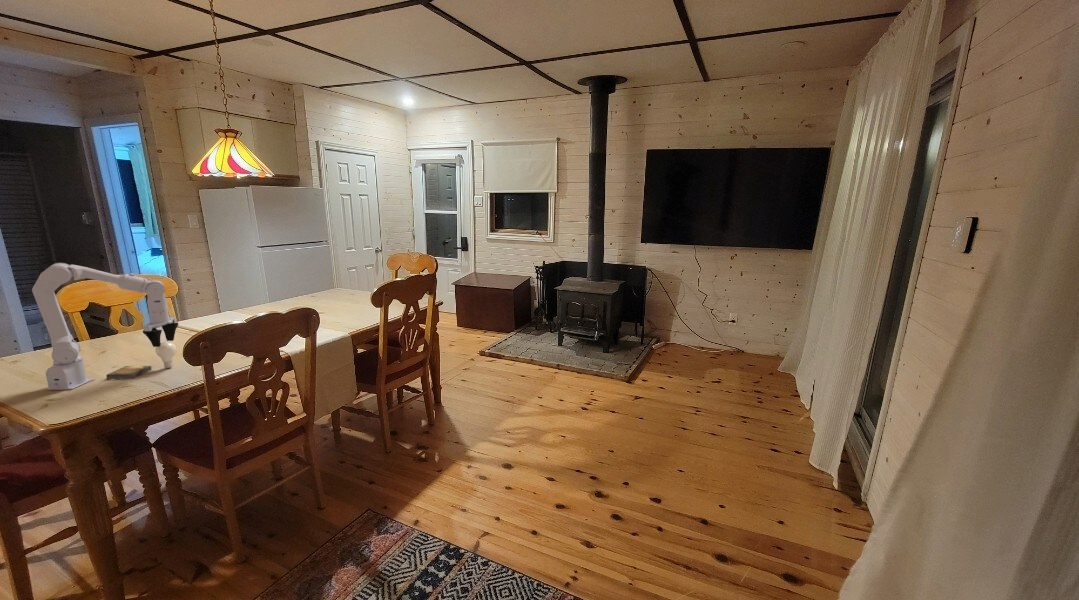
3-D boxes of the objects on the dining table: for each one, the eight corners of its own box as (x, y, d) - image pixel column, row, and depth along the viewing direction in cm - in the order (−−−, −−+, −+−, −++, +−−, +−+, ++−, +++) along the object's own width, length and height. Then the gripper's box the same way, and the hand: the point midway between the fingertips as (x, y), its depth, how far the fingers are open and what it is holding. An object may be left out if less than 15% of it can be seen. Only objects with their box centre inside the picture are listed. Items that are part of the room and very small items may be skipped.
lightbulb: (181, 367, 174) (177, 341, 172) (161, 372, 169) (157, 345, 166) (175, 364, 177) (172, 338, 175) (156, 368, 172) (152, 342, 170)
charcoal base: (133, 378, 162) (132, 373, 161) (107, 379, 160) (106, 374, 160) (151, 370, 170) (150, 365, 170) (126, 370, 169) (125, 365, 169)
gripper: (156, 315, 161) (161, 349, 164) (182, 306, 175) (186, 338, 178) (135, 315, 160) (141, 349, 163) (163, 306, 174) (168, 338, 177)
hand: (163, 343), depth 171 cm, fingers open, 7 cm apart
